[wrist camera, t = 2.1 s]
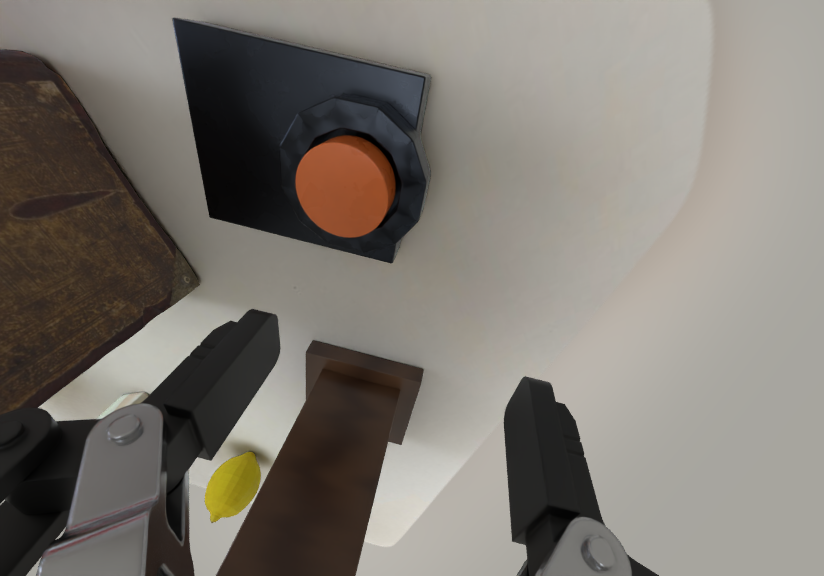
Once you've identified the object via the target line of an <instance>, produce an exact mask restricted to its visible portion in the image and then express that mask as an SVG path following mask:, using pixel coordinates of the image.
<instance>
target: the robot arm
mask: <svg viewBox="0 0 824 576" xmlns="http://www.w3.org/2000/svg"><path fill="white" fill-rule="evenodd" d="M279 354H280V338H279V327H278V318H277V316H276V315H275V314H272V313H267V312H263V311H259V310H255V309H251V310H249V311H248V312H247V313H246V314H245V315H244V316H243V317H242V318H241V319H240V320H239V321H238V322H234V321H229V322H227V323H225V324H224V325H222V326H220V327H218V328H216V329H215V330H213V331H212V332H211V333H210V334H209V335H208V336H207V337H206V338H205V339H204V340H203V341H202V342H201V345H200V346H199V345H198V346H197V347H196V348H195V349H194V350H193V351H192V352H191V354H190V356H188V357H187V358H186V359H185V360H184V361H183V362H182V363H181V364H180V365H179V366H178V367H177V368H176V369H175V370H174V371H173V372H172V373H171V374H170V375H169V376H168V377H167V378H166V379H165V380H164V381H163V382H162V383H161V384H160V385H159V386H158V387H157V388H156V389H155V390H154V391H153V392H152V393H151V394H150V395H149V396H148V397H147V398H146V399H145V400H144V401H142V402H141V403H140V404H132V405H128V406H125V407H122V408H119V409H117V410H115V411H113V412H111V413H109V414H108V415H106V416H105V417H104V418H102V419H90V420H73V421H55V420H54V419H53V418H52V417H51V415H50V414H49V413H48V412H47V411H45V410H43V409H40V408H23V409H17V410H13V411H10V412H7V413H4V414H1V415H0V503H1V502H2V501H3V500H4V499H5V501H4V503H2V504H1V505H0V576H26V575H27V573H28V572H29V571H30V570H31V568H32V567H33V566H34V565H35V564H36V562H37V561H38V560H39V559H40V558H41V556H42V558H41V560H40V563H39V566H38V570H37V574H36V576H194V568H193V561H192V557H191V553H190V543H189V471H188V469H189V468H190V467H191V465H192V464H193V462H194V461H195V459H196V458H197V457H199V458H203V459H207V460H210V461H211V460H212V459H213V457H214V456H215V454H216V453H217V451H218V450H219V448H220V447H221V445H222V444H223V442H224V441H225V439H226V438H227V436H228V435H229V433H230V432H231V430H232V429H233V427H234V426H235V424H236V423H237V421H238V420H239V418H240V417H241V415H242V414H243V412H244V411H245V409H246V408H247V406H248V405H249V403H250V402H251V400H252V399H253V397H254V396H255V394H256V393H257V391H258V390H259V388H260V387H261V385H262V384H263V382H264V381H265V379H266V378H267V376H268V375H269V373H270V372H271V370H272V369H273V367H274V366H275V364H276V362H277V360H278V357H279ZM504 431H505V446H506V461H507V475H508V488H509V502H510V517H511V530H512V531H511V532H512V541H513V542H516V543H520V544H524V545H526V549H527V560H526V561H525V563H524V564H523V566H522V568H521V569H520V571H519V572H518V574H517V576H659V575H657V574H655V573H654V572H652V571H651V570H649V569H648V568H646V567H644V566H643V565H641V564H640V563H638V562H636V561H635V560H634V559H632V558H631V557H629V555H627V554H626V552H625V550H624V548H623V546H622V545H621V543H620V541H619V540H618V539H617V537H616V536H615V535H614V534H613V533H612V532H611V531H610V530H609V529H608V528H607V527H606V526H605V524H604V522H603V520H602V517H601V514H600V510H599V506H598V503H597V499H596V495H595V491H594V488H593V484H592V480H591V477H590V473H589V469H588V466H587V462H586V458H585V457H584V451H583V447H582V444H581V442H580V436H579V432H578V429H577V425H576V421H575V420H574V418H573V416H572V415H571V413H570V412H569V410H568V409H567V407H566V406H565V404H562V403H558V402H556V401H555V397H554V392H553V388H552V385H551V384H550V383H549V382H546V381H542V380H538V379H534V378H530V377H526V376H525V377H523V378H522V380H521V381H520V383H519V385H518V387H517V388H516V390H515V392H514V394H513V395H512V397H511V399H510V401H509V402H508V404H507V407H506V410H505V415H504ZM65 527H66V530H65V532H64V534H63V535H62V536H61V537H60V538H59V539H57V540H55V539H56V538H57V537H58V536H59V535H60V533H61V532H62V531H63V529H64V528H65Z"/></svg>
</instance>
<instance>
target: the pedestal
mask: <svg viewBox="0 0 824 576" xmlns="http://www.w3.org/2000/svg"><path fill="white" fill-rule="evenodd" d="M423 371H424V370H423V369H420V368H416V367H413V366H409V365H405V364H401V363H397V362H394V361H390V360H386V359H382V358H378V357H375V356H371V355H367V354H363V353H359V352H355V351H352V350H348V349H344V348H340V347H336V346H333V345H329V344H325V343H321V342H317V341H314V340H313V341H312V343H311V344H310V346H309V348H308V349H307V351H306V401H305V403H304V405H303V407H302V409H301V411H300V413H299V415H298V417H297V419H296V421H295V423H294V425H293V427H292V429H291V431H290V433H289V434H288V436H287V438H286V440H285V442H284V444H283V446H282V448H281V450H280V452H279V454H278V456H277V458H276V460H275V462H274V464H273V466H272V467H271V469H270V471H269V473H268V475H267V477H266V479H265V481H264V483H263V485H262V487H261V489H260V491H259V493H258V495H257V497H256V499H255V500H254V502H253V504H252V507H251V508H250V510H249V512H248V514H247V516H246V518H245V520H244V522H243V524H242V526H241V528H240V530H239V532H238V533H237V536H236V537H235V539H234V541H233V543H232V545H231V547H230V549H229V551H228V553H227V555H226V557H225V559H224V561H223V563H222V565H221V566H220V568H219V571H218V572H217V574H216V576H355V575H356V571H357V567H358V563H359V559H360V555H361V551H362V547H363V543H364V538H365V534H366V530H367V526H368V522H369V518H370V514H371V510H372V506H373V501H374V497H375V493H376V489H377V485H378V481H379V477H380V473H381V469H382V464H383V460H384V456H385V452H386V448H387V444H388V442H392V443H396V444H399V445H402V442H403V439H404V435H405V432H406V429H407V426H408V423H409V420H410V417H411V413H412V410H413V407H414V404H415V401H416V398H417V395H418V391H419V388H420V385H421V381H422V376H423Z"/></svg>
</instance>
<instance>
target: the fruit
mask: <svg viewBox="0 0 824 576" xmlns="http://www.w3.org/2000/svg"><path fill="white" fill-rule="evenodd" d="M260 477H261V472H260V467H259V465H258V463H257V461H256V456H255V454H254V453H253V452H246V453H244V454H243V455H240V456H236V457H234V458H231V459H229V460H228V461H226V462H225V463H223V464H222V465H221V466H220V467H219V468H218V469H217V470H216V471H215V473H214V474H213V475H212V477H211V479H210V481H209V483H208V486H207V489H206V493H205V505H206V507H207V509H208V510H209V512H210V514H211V516H210V520H211V523H213V522H216V521H218V520H219V519H220V518H222V517H231V516H234V515H237V514H238V513H239V512H241V511H242V510H243V509H244V508H245V507H246V506H247V505H248V504H249V503H250V502H251V501H252V499H253V498H254V496H255V495H256V493H257V490H258V488H259V484H260Z"/></svg>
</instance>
